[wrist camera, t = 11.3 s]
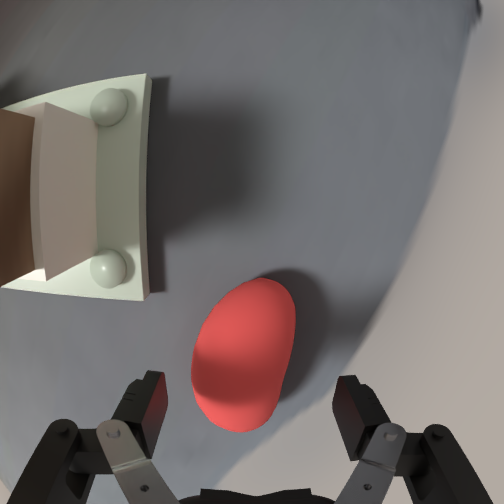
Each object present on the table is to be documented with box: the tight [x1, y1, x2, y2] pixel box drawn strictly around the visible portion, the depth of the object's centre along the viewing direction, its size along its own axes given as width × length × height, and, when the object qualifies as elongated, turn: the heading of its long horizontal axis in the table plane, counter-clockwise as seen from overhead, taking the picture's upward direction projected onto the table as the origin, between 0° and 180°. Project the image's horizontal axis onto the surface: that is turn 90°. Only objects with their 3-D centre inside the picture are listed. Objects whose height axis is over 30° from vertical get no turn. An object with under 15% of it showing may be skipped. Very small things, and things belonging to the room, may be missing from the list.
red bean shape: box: [191, 278, 296, 432], centre depth 15 cm, size 5×9×6 cm, turn 159°
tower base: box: [2, 74, 152, 301], centre depth 12 cm, size 12×12×6 cm
